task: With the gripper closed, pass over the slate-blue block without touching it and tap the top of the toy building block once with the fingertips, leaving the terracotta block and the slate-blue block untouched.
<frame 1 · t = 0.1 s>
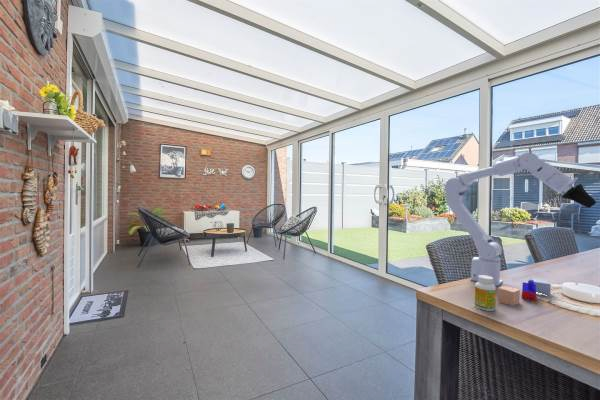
hand: (593, 205, 92), 32 cm above the table, tool tilted 50°, fingers open, 7 cm apart
slate blue block: (540, 293, 101), on the table
supplement bottle: (484, 308, 89), on the table
toy building block: (528, 299, 97), on the table
terracotta block: (508, 302, 93), on the table
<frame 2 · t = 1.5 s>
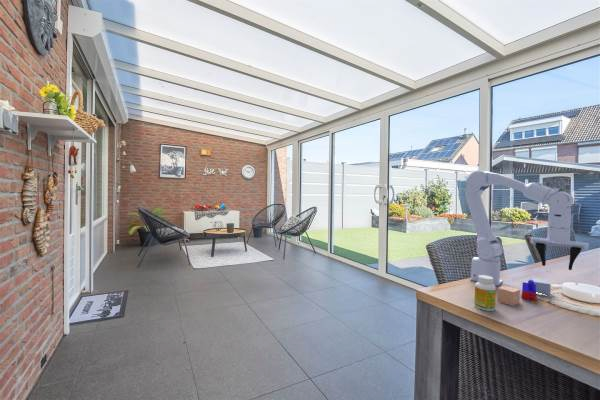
hand: (556, 267, 97), 10 cm above the table, tool pointing down, fingers open, 6 cm apart
nothing on the table moved.
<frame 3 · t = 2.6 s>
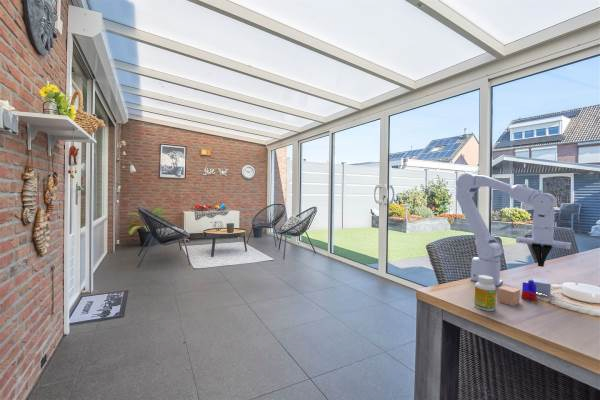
hand: (540, 265, 100), 10 cm above the table, tool pointing down, fingers closed
nothing on the table moved.
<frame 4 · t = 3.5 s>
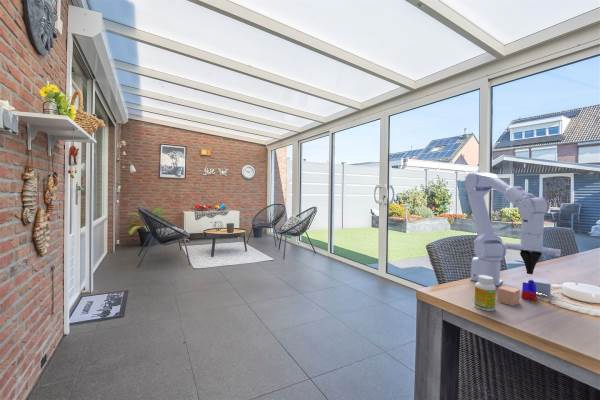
hand: (529, 273, 96), 8 cm above the table, tool pointing down, fingers closed
nothing on the table moved.
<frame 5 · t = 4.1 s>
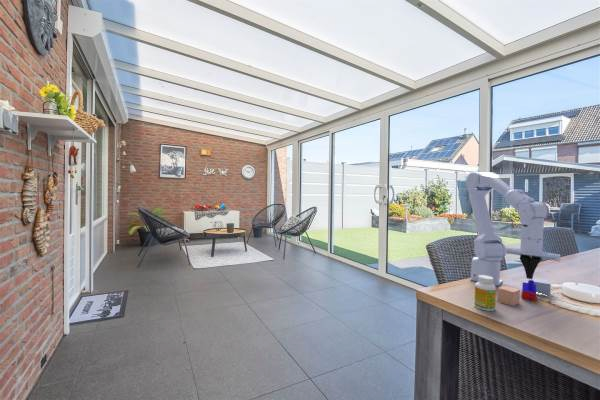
hand: (529, 278, 96), 7 cm above the table, tool pointing down, fingers closed
nothing on the table moved.
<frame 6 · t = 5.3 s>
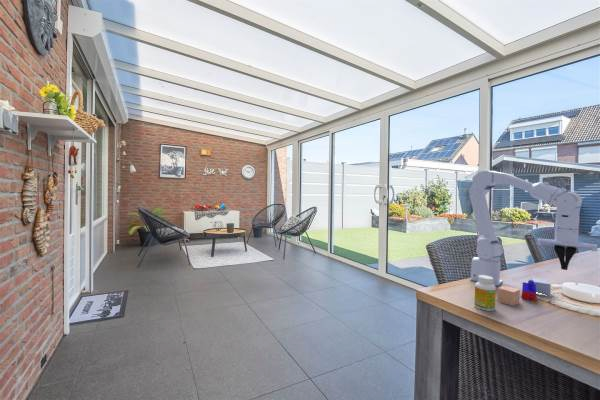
hand: (564, 269, 95), 10 cm above the table, tool pointing down, fingers closed
nothing on the table moved.
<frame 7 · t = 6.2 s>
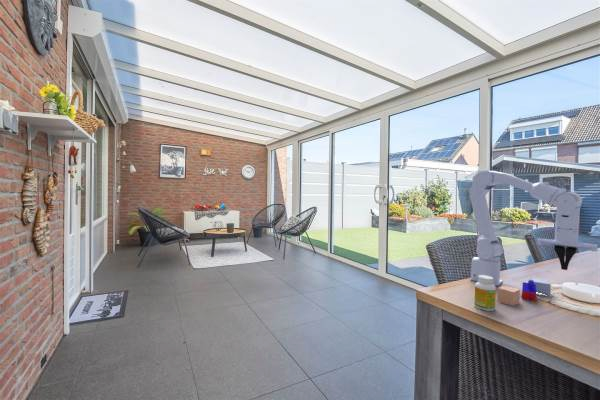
hand: (564, 269, 95), 10 cm above the table, tool pointing down, fingers closed
nothing on the table moved.
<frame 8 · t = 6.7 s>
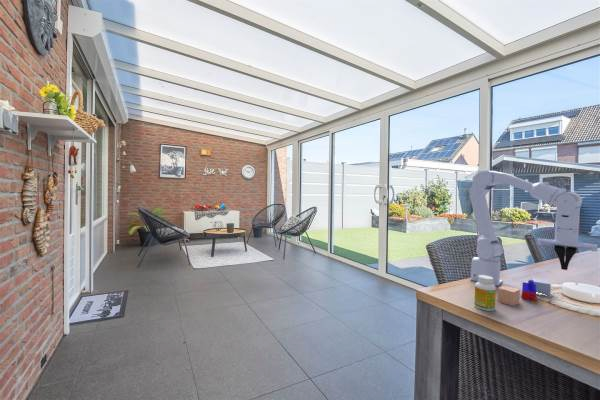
hand: (564, 269, 95), 10 cm above the table, tool pointing down, fingers closed
nothing on the table moved.
at the end: toy building block moved 0.3 cm from its start; slate blue block moved 0.1 cm from its start; terracotta block moved 0.1 cm from its start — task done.
